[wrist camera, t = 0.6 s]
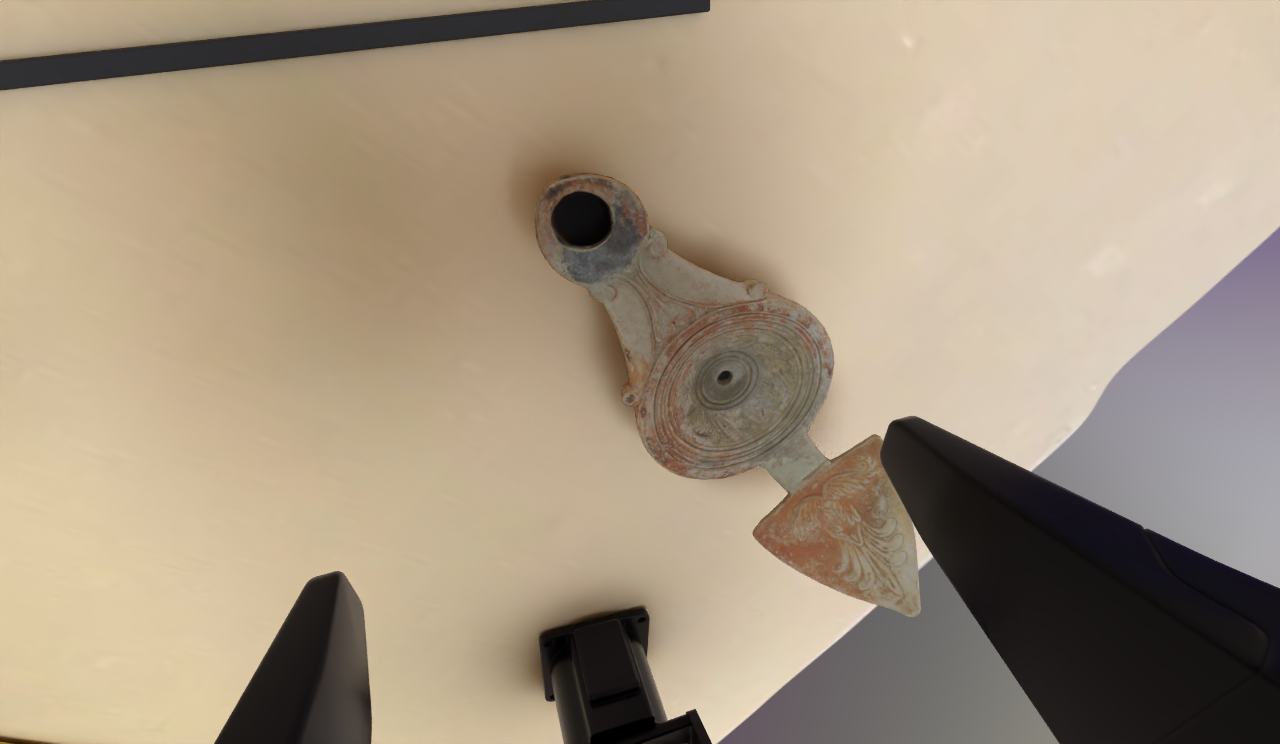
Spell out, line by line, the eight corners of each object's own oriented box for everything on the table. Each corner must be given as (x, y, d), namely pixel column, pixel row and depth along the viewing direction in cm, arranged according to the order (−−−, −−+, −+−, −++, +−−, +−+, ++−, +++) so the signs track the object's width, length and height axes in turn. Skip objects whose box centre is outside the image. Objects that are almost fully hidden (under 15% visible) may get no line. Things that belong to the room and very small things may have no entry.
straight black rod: (703, -12, 19) (710, -12, 19) (703, 10, 20) (711, 11, 19) (-287, 89, 14) (-311, 94, 14) (-263, 117, 14) (-285, 122, 14)
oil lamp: (735, 507, 34) (835, 673, 26) (444, 240, 21) (465, 407, 13) (861, 411, 33) (1006, 554, 25) (635, 67, 20) (785, 134, 12)
